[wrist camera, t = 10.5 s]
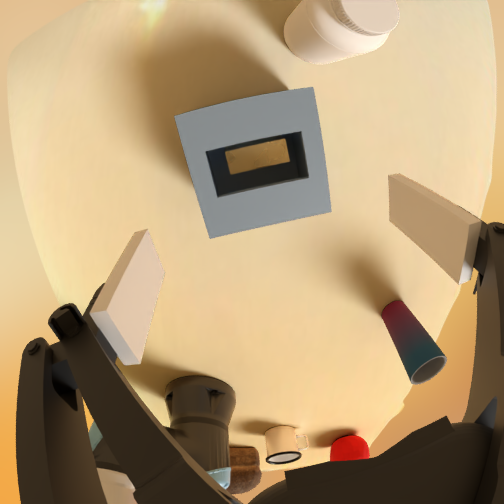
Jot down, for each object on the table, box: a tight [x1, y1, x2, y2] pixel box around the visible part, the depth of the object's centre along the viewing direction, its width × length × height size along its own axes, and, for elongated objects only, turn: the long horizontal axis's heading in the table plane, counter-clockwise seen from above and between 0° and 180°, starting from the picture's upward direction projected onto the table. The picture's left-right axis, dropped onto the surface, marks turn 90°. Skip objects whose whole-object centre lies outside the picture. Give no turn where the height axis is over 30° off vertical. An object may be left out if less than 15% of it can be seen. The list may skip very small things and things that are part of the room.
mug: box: [265, 426, 309, 464], centre depth 65 cm, size 12×10×9 cm
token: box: [225, 135, 290, 175], centre depth 30 cm, size 6×2×6 cm, turn 102°
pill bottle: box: [284, 0, 399, 64], centre depth 20 cm, size 8×8×15 cm
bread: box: [225, 448, 262, 494], centre depth 69 cm, size 15×32×16 cm, turn 81°
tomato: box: [330, 436, 370, 461], centre depth 73 cm, size 16×14×14 cm
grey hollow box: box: [174, 87, 331, 239], centre depth 29 cm, size 12×12×10 cm
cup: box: [382, 301, 447, 384], centre depth 43 cm, size 7×7×15 cm
